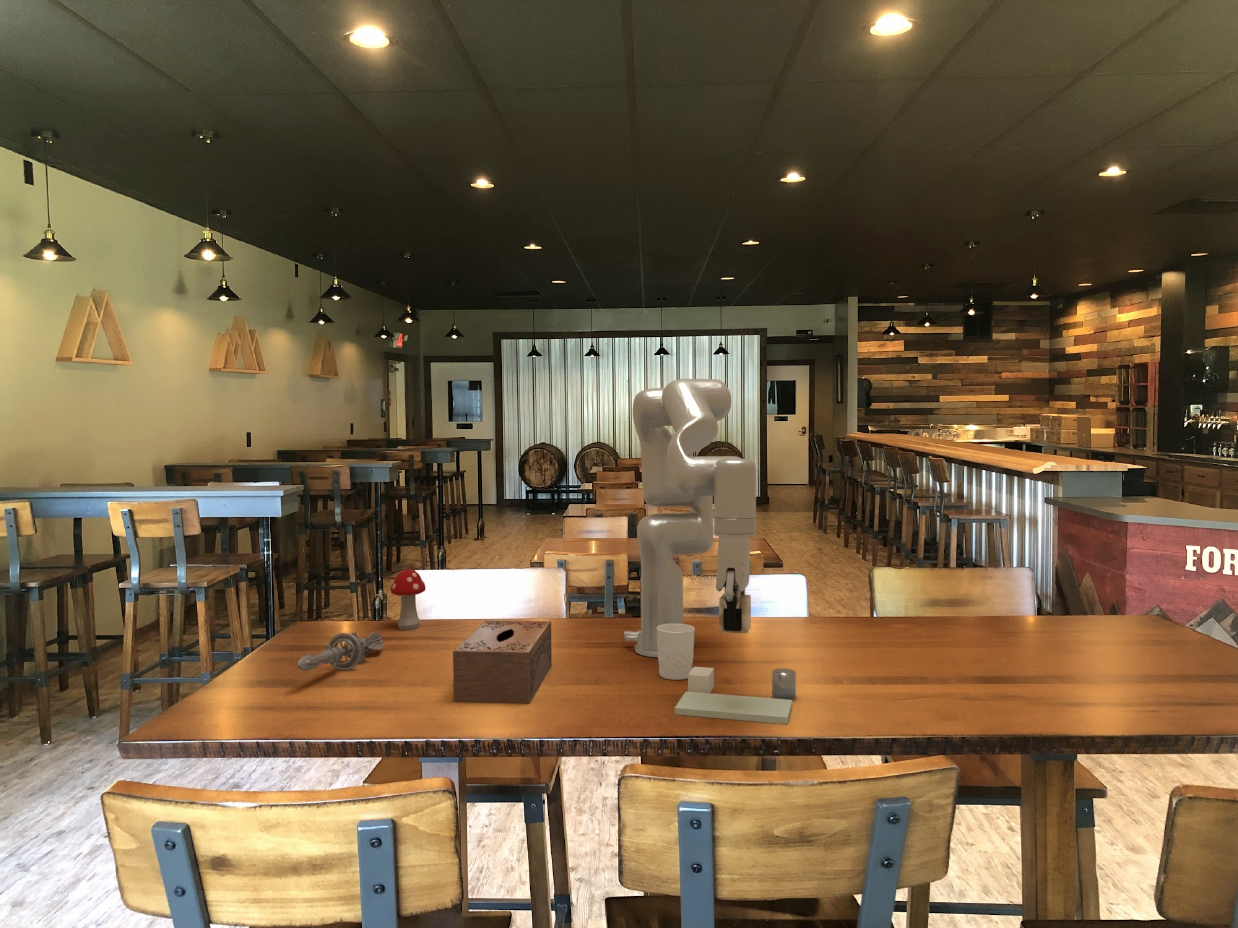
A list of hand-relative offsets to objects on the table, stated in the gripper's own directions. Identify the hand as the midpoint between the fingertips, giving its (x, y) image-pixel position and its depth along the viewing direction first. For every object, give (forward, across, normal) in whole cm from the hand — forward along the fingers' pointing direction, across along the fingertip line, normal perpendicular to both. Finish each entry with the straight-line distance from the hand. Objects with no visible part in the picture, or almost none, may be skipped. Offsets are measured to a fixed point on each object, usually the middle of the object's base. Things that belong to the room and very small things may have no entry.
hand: (734, 625), depth 161 cm
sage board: (+16, 0, 0) cm, 16 cm away
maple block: (+1, 0, 0) cm, 1 cm away
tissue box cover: (+16, -5, -47) cm, 50 cm away
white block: (+16, -10, -8) cm, 20 cm away
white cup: (+16, -19, -15) cm, 29 cm away
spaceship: (+16, -5, -84) cm, 86 cm away
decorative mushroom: (+15, -43, -90) cm, 101 cm away
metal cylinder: (+16, -10, +8) cm, 20 cm away
